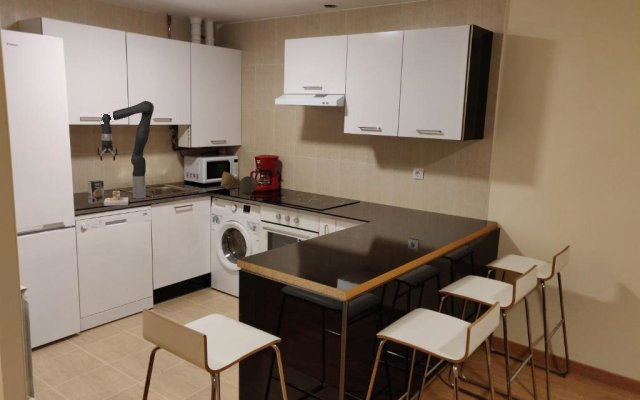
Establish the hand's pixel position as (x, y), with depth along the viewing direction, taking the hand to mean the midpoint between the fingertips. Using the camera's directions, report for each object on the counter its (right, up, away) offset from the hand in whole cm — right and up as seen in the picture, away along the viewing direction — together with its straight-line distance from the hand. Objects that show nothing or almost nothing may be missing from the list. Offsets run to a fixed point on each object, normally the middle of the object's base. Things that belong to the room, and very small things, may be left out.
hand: (107, 160), depth 376 cm
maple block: (+15, -30, -19) cm, 38 cm away
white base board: (+14, -33, -18) cm, 40 cm away
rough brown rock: (+83, -20, +64) cm, 107 cm away
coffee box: (0, -33, -19) cm, 38 cm away
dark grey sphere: (+103, -25, +39) cm, 113 cm away
